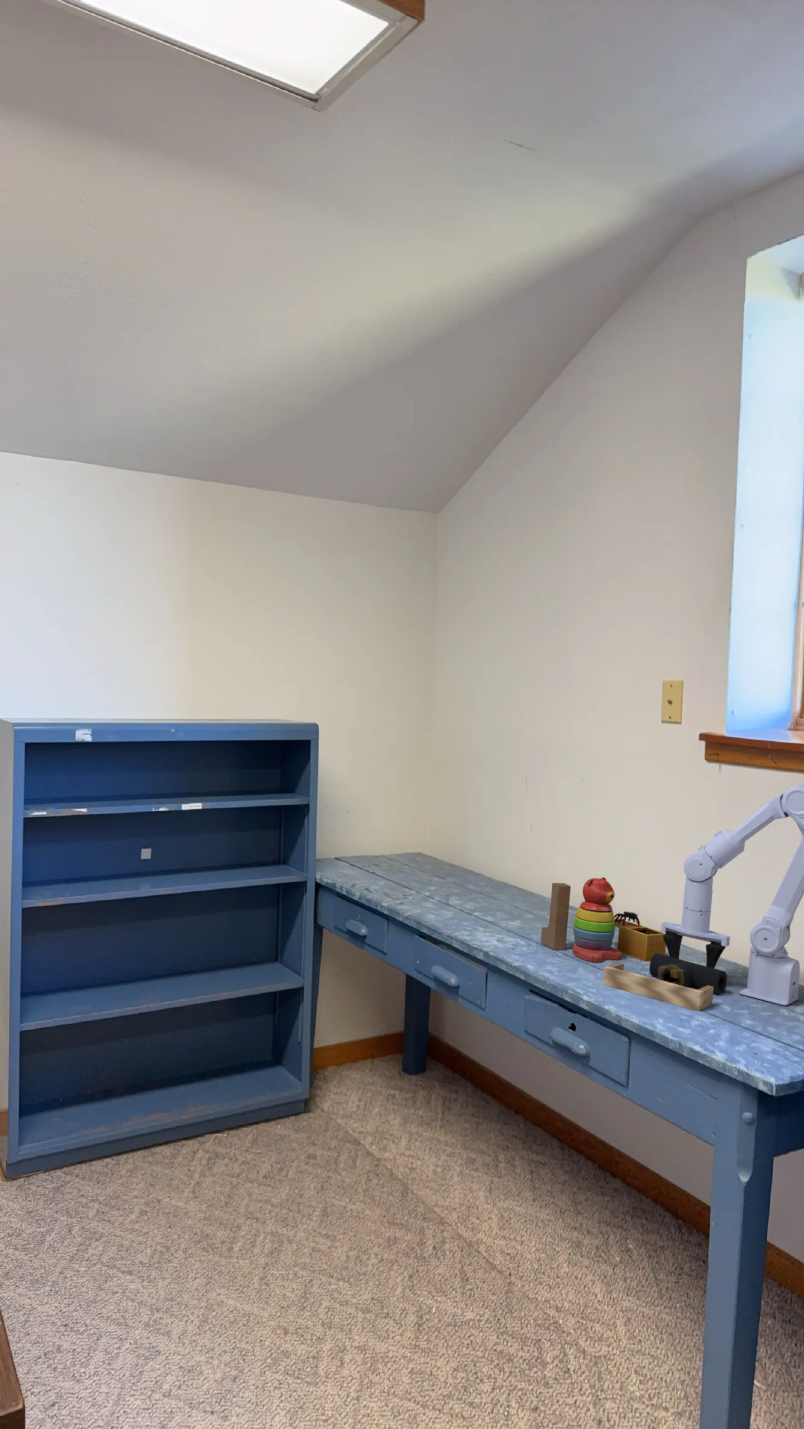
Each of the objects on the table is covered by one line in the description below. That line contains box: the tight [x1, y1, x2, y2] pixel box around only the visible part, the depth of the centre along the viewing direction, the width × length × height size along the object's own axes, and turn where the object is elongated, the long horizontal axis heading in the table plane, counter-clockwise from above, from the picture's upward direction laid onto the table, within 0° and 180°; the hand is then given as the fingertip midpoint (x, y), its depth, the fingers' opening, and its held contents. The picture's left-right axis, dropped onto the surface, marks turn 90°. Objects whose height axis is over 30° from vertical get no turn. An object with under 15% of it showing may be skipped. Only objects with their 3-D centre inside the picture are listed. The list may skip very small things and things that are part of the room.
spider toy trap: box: [614, 911, 667, 962], centre depth 223 cm, size 6×15×9 cm, turn 30°
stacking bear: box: [571, 876, 623, 963], centre depth 217 cm, size 11×10×18 cm
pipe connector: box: [649, 953, 728, 996], centre depth 196 cm, size 12×5×15 cm
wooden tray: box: [602, 962, 714, 1012], centre depth 189 cm, size 20×6×4 cm, turn 50°
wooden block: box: [540, 882, 572, 951], centre depth 222 cm, size 7×3×15 cm, turn 18°
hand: (691, 972), depth 202 cm, fingers open, 7 cm apart
